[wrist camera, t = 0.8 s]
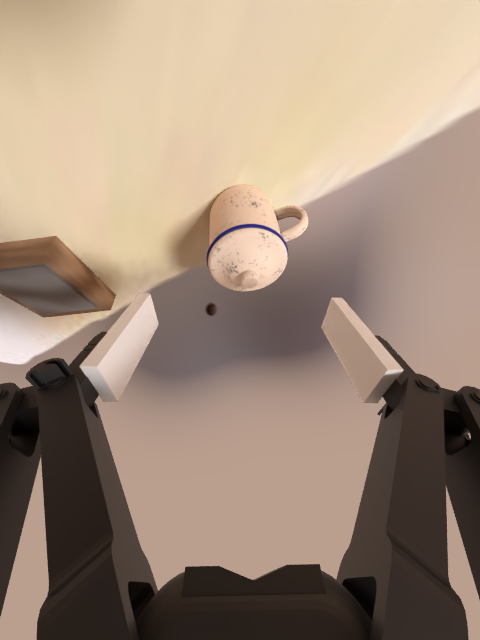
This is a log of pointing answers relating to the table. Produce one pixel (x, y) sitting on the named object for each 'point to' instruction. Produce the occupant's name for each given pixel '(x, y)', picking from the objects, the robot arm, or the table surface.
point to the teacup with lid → (249, 238)
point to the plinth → (50, 279)
